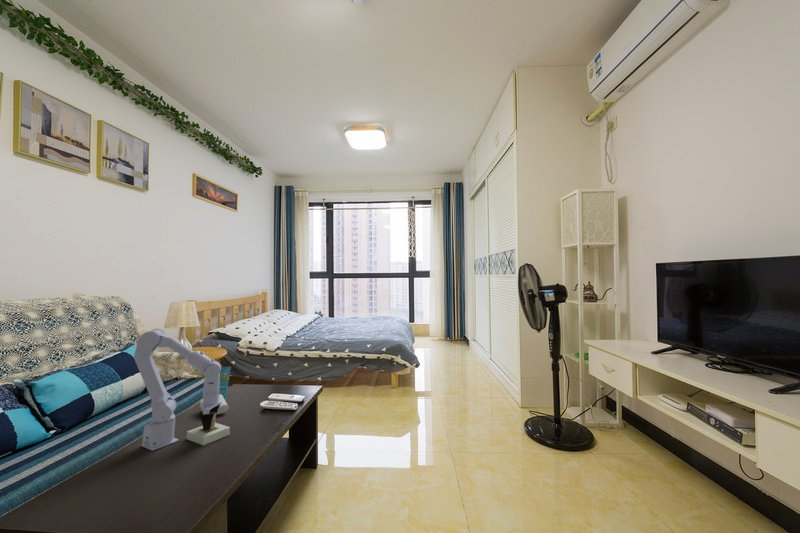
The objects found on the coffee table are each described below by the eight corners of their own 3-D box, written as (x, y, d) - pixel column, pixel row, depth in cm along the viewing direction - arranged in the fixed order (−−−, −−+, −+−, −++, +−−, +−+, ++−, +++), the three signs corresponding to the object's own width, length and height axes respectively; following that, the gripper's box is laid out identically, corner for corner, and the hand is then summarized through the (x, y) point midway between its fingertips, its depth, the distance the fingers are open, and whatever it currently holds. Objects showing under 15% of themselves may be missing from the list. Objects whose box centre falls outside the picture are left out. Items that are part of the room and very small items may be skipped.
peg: (206, 439, 131) (208, 416, 132) (200, 437, 133) (202, 414, 133) (216, 436, 134) (217, 413, 135) (210, 433, 136) (211, 411, 137)
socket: (203, 445, 126) (203, 437, 126) (186, 439, 131) (187, 431, 131) (229, 434, 136) (230, 427, 136) (212, 429, 141) (213, 421, 141)
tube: (212, 408, 164) (215, 368, 167) (211, 406, 168) (214, 367, 171) (228, 406, 168) (231, 367, 171) (227, 404, 172) (230, 366, 175)
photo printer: (228, 411, 159) (221, 398, 168) (228, 403, 158) (221, 391, 167) (204, 419, 152) (198, 405, 161) (204, 411, 151) (198, 397, 160)
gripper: (218, 396, 129) (216, 432, 128) (225, 386, 143) (223, 418, 142) (197, 398, 127) (195, 434, 126) (207, 387, 141) (205, 420, 140)
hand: (209, 426), depth 134 cm, fingers open, 7 cm apart
